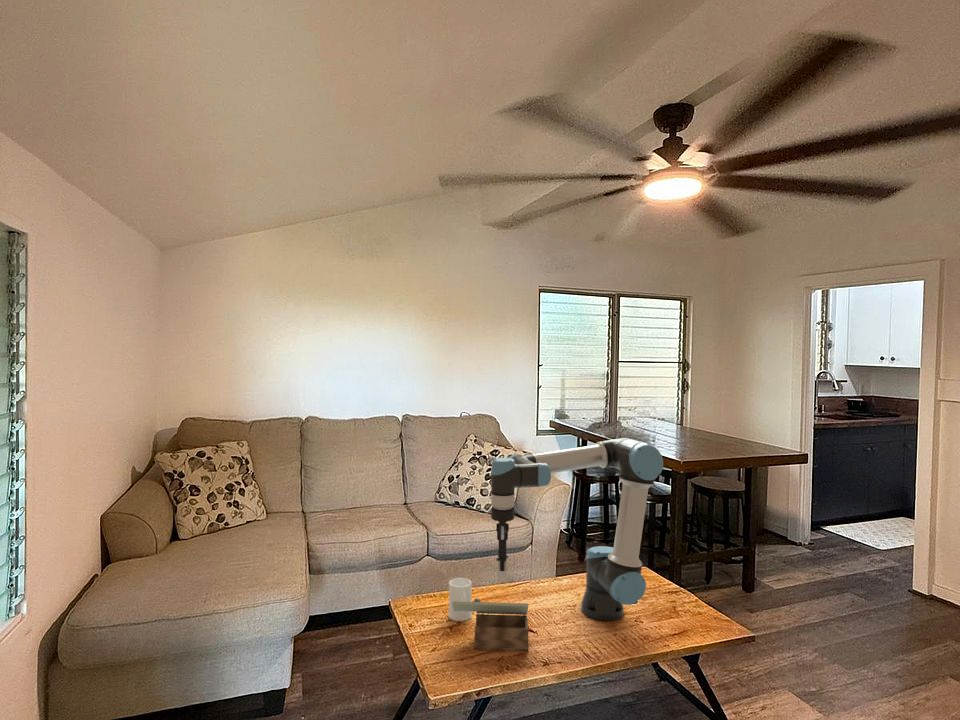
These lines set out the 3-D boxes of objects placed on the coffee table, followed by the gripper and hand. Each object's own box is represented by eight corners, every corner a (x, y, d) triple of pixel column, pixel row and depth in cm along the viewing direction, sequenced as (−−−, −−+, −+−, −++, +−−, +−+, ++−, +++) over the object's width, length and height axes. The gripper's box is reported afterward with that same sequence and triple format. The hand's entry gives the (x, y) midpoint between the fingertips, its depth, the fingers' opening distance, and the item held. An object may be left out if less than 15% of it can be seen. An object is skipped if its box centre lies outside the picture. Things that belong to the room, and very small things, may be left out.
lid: (527, 615, 177) (526, 607, 179) (528, 607, 169) (528, 599, 171) (454, 612, 178) (454, 604, 180) (452, 605, 170) (452, 597, 172)
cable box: (527, 636, 176) (527, 615, 176) (528, 651, 168) (528, 629, 167) (476, 634, 177) (476, 614, 177) (474, 649, 168) (474, 627, 168)
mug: (475, 624, 184) (475, 590, 184) (450, 626, 182) (451, 592, 182) (469, 608, 196) (470, 576, 195) (446, 610, 194) (447, 578, 194)
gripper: (491, 500, 178) (490, 571, 178) (490, 512, 165) (490, 587, 165) (513, 501, 177) (513, 571, 177) (514, 512, 164) (514, 588, 164)
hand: (502, 579), depth 171 cm, fingers closed
